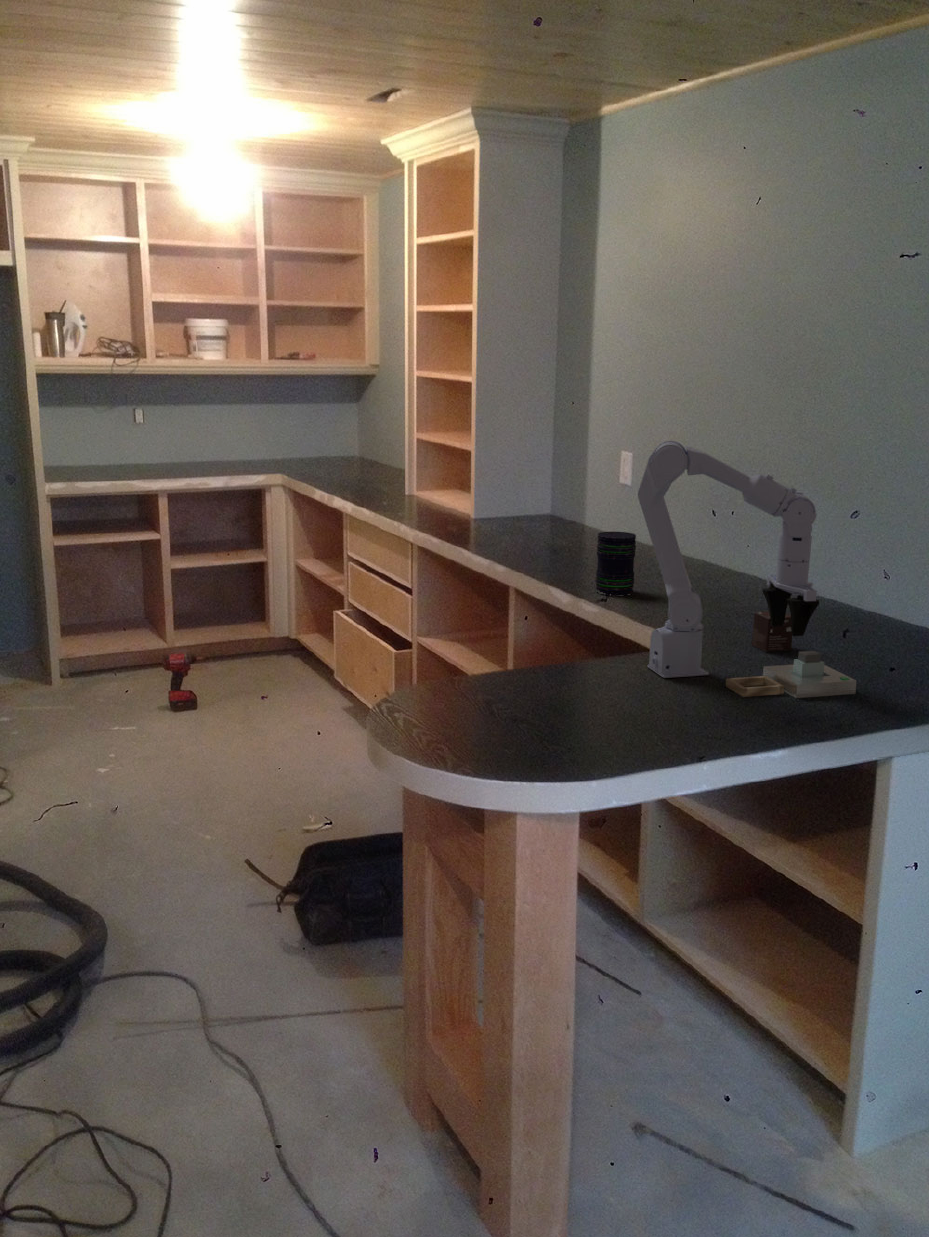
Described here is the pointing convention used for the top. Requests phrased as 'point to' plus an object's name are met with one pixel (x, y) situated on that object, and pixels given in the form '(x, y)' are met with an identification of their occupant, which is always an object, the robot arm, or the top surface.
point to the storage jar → (615, 562)
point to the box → (771, 633)
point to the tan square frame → (768, 688)
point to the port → (811, 682)
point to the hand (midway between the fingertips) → (787, 630)
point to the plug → (808, 665)
